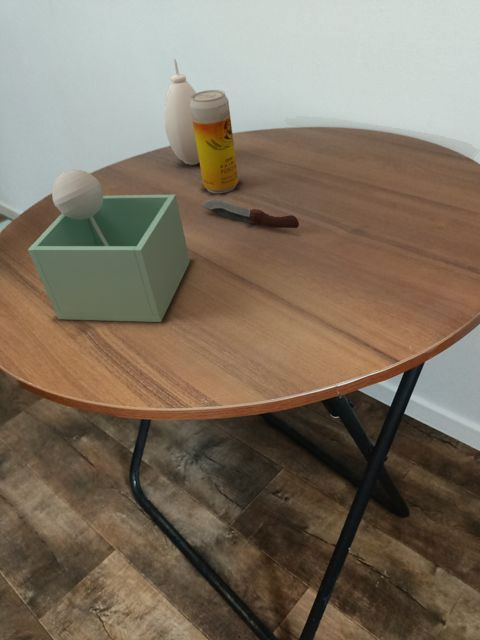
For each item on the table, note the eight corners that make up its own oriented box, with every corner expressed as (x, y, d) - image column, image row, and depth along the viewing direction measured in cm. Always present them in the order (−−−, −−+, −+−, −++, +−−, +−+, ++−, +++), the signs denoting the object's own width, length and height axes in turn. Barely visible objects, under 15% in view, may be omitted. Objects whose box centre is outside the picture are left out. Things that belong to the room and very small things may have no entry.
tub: (58, 319, 65) (27, 249, 59) (99, 261, 75) (77, 195, 69) (161, 322, 63) (140, 249, 56) (190, 261, 73) (175, 194, 66)
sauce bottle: (182, 175, 96) (161, 67, 84) (167, 162, 102) (145, 59, 90) (220, 163, 99) (205, 57, 87) (203, 152, 104) (186, 50, 92)
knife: (198, 213, 84) (195, 195, 82) (204, 209, 85) (201, 191, 83) (296, 238, 75) (295, 219, 73) (301, 233, 76) (300, 214, 74)
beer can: (230, 195, 88) (217, 101, 78) (198, 193, 90) (181, 100, 80) (244, 180, 92) (233, 89, 82) (212, 178, 94) (198, 88, 84)
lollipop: (132, 286, 64) (66, 169, 58) (98, 297, 67) (31, 187, 61) (155, 266, 69) (97, 156, 63) (122, 277, 72) (63, 173, 66)
